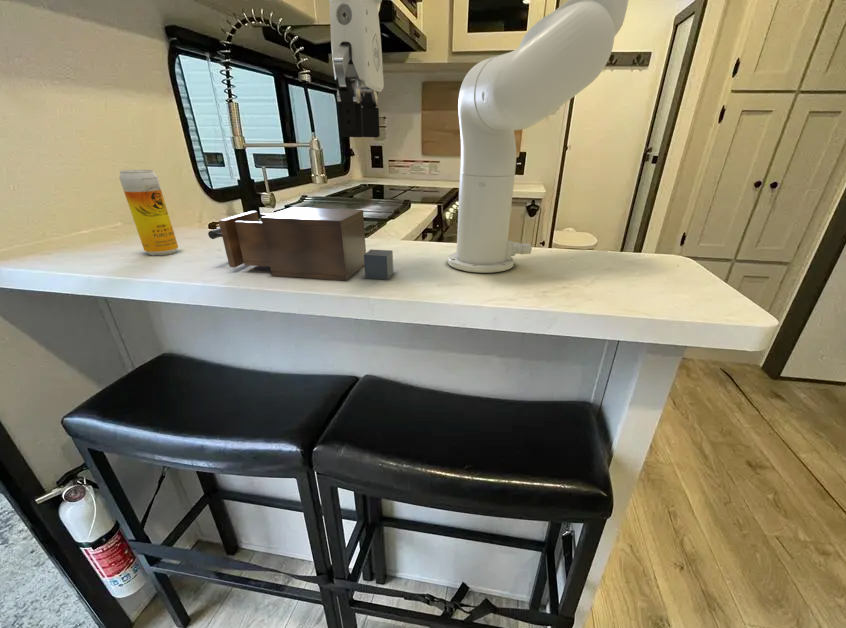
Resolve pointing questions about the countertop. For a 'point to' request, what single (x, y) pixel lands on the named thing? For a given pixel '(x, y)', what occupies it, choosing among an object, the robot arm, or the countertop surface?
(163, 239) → the beer can
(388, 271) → the block
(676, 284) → the countertop surface
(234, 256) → the drawer
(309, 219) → the cabinet
